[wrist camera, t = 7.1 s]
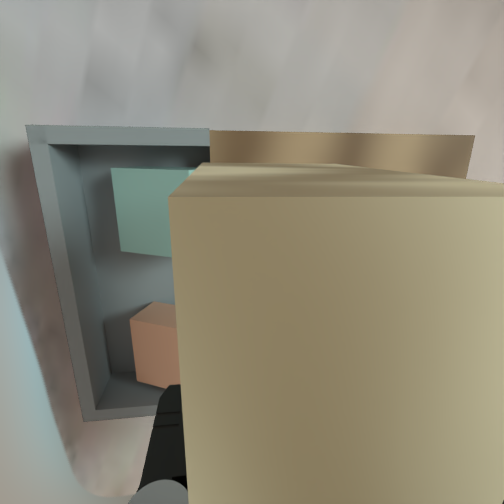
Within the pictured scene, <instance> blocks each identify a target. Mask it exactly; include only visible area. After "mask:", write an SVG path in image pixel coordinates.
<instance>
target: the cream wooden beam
mask: <svg viewBox="0 0 504 504" xmlns="http://www.w3.org/2000/svg"><path fill="white" fill-rule="evenodd" d="M168 207H169V222H170V236H171V251H172V266H173V280H174V295H175V310H176V324H177V339H178V354H179V369H180V383H181V398H182V413H183V427H184V442H185V457H186V471H187V486H188V501H189V504H502V503H503V500H504V183H496V182H487V181H478V180H470V179H461V178H452V177H444V176H435V175H426V174H418V173H409V172H401V171H392V170H383V169H375V168H366V167H357V166H349V165H340V164H288V163H202V164H201V165H200V166H199V167H198V168H197V169H196V170H195V171H194V172H193V173H191V174H190V175H189V176H188V177H187V178H186V179H185V180H184V181H183V182H182V183H181V184H180V185H179V186H178V187H177V188H176V189H175V190H174V191H173V192H172V193H171V194H170V195H169V196H168Z"/></svg>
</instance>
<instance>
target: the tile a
mask: <svg viewBox="0 0 504 504" xmlns="http://www.w3.org/2000/svg"><path fill="white" fill-rule="evenodd" d="M196 169H197V167H161V166H132V167H116V168H111V175H112V183H113V191H114V199H115V207H116V215H117V223H118V231H119V239H120V248H121V251H124V252H132V253H140V254H148V255H156V256H164V257H172V251H171V236H170V222H169V207H168V196H169V195H170V194H171V193H172V192H173V191H174V190H175V189H176V188H177V187H178V186H179V185H180V184H181V183H182V182H183V181H184V180H185V179H186V178H187V177H188V176H189V175H190V174H191V173H193V172H194V171H195V170H196Z"/></svg>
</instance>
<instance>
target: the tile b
mask: <svg viewBox="0 0 504 504" xmlns="http://www.w3.org/2000/svg"><path fill="white" fill-rule="evenodd" d="M129 320H130V328H131V336H132V344H133V352H134V360H135V368H136V377H137V381H139V382H143V383H146V384H150V385H154V386H158V387H161V388H165V389H167V387H168V386H169V385H176V384H181V383H180V369H179V354H178V339H177V324H176V310H175V305H172V304H167V303H161V302H155V301H154V302H152V303H151V304H150V305H148V306H147V307H146V308H144V309H143V310H141V311H140V312H139V313H137V314H136V315H135V316H133V317H132V318H130V319H129Z"/></svg>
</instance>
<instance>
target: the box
mask: <svg viewBox="0 0 504 504" xmlns="http://www.w3.org/2000/svg"><path fill="white" fill-rule="evenodd" d="M25 127H26V132H27V137H28V142H29V147H30V152H31V157H32V162H33V167H34V172H35V177H36V183H37V188H38V193H39V198H40V203H41V208H42V213H43V218H44V223H45V228H46V233H47V238H48V243H49V249H50V254H51V259H52V264H53V269H54V274H55V279H56V284H57V289H58V294H59V299H60V304H61V310H62V315H63V320H64V325H65V330H66V335H67V340H68V345H69V350H70V355H71V360H72V365H73V370H74V376H75V381H76V386H77V391H78V396H79V401H80V406H81V411H82V416H83V421H84V422H87V421H99V420H110V419H121V418H132V417H143V416H154V415H156V411H157V407H158V402H159V398H160V397H161V395H162V394H163V393H164V391H165V390H166V389H165V388H161V387H158V386H154V385H150V384H146V383H143V382H139V381H137V377H136V368H135V360H134V352H133V344H132V336H131V328H130V320H129V319H130V318H132V317H133V316H135V315H136V314H137V313H139V312H140V311H141V310H143V309H144V308H146V307H147V306H148V305H150V304H151V303H152V302H154V301H155V302H161V303H167V304H172V305H175V295H174V280H173V266H172V257H164V256H156V255H148V254H140V253H132V252H124V251H121V248H120V239H119V231H118V223H117V215H116V207H115V199H114V191H113V183H112V175H111V168H116V167H132V166H161V167H197V168H198V167H199V166H200V165H201V164H202V163H210V137H209V128H160V127H109V126H59V125H25Z"/></svg>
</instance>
